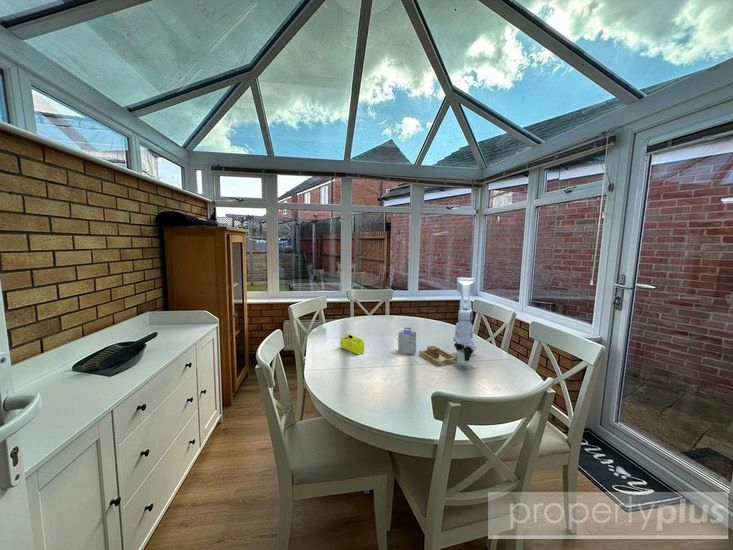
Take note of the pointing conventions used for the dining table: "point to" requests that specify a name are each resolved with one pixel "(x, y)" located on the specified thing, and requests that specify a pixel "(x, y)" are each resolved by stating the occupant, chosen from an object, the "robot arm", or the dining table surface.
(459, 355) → the sage block
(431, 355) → the walnut block
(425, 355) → the oak tray
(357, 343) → the yellow toy chassis
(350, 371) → the dining table surface
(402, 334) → the ink cartridge box
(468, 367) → the rubber pad
